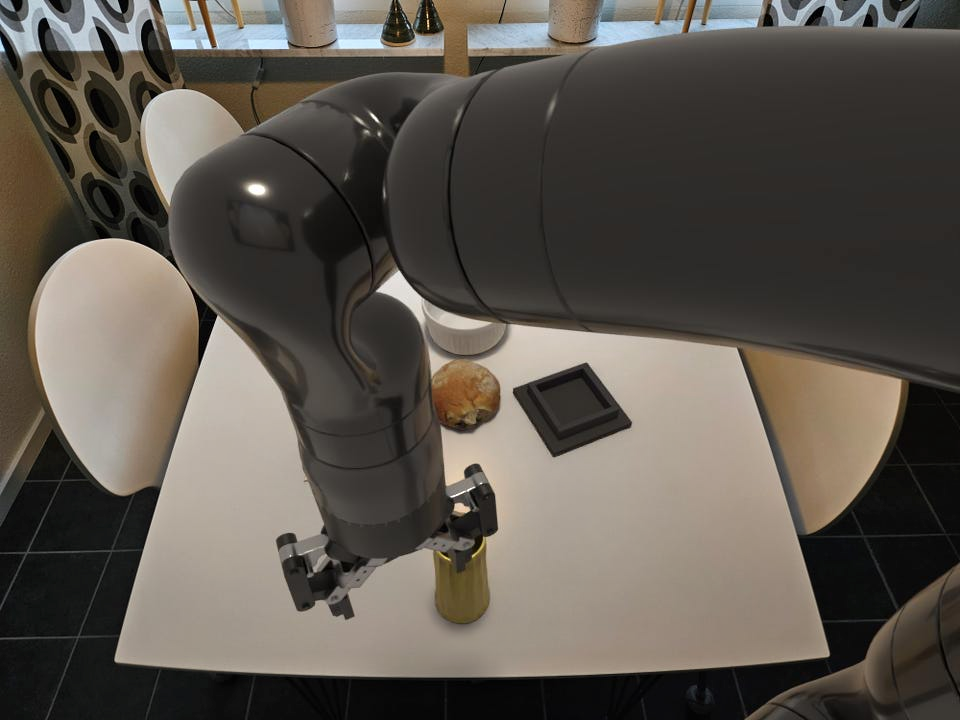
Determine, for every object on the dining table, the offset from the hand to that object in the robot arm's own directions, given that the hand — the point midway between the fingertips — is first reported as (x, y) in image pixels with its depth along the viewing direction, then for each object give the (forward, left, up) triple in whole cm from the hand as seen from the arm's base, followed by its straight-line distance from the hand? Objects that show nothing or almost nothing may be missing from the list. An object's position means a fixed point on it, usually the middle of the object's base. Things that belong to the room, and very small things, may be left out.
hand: (403, 583), depth 48 cm
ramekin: (+45, -24, -25) cm, 56 cm away
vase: (+7, -7, -25) cm, 26 cm away
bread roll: (+32, -18, -25) cm, 44 cm away
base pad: (+25, -31, -24) cm, 46 cm away
